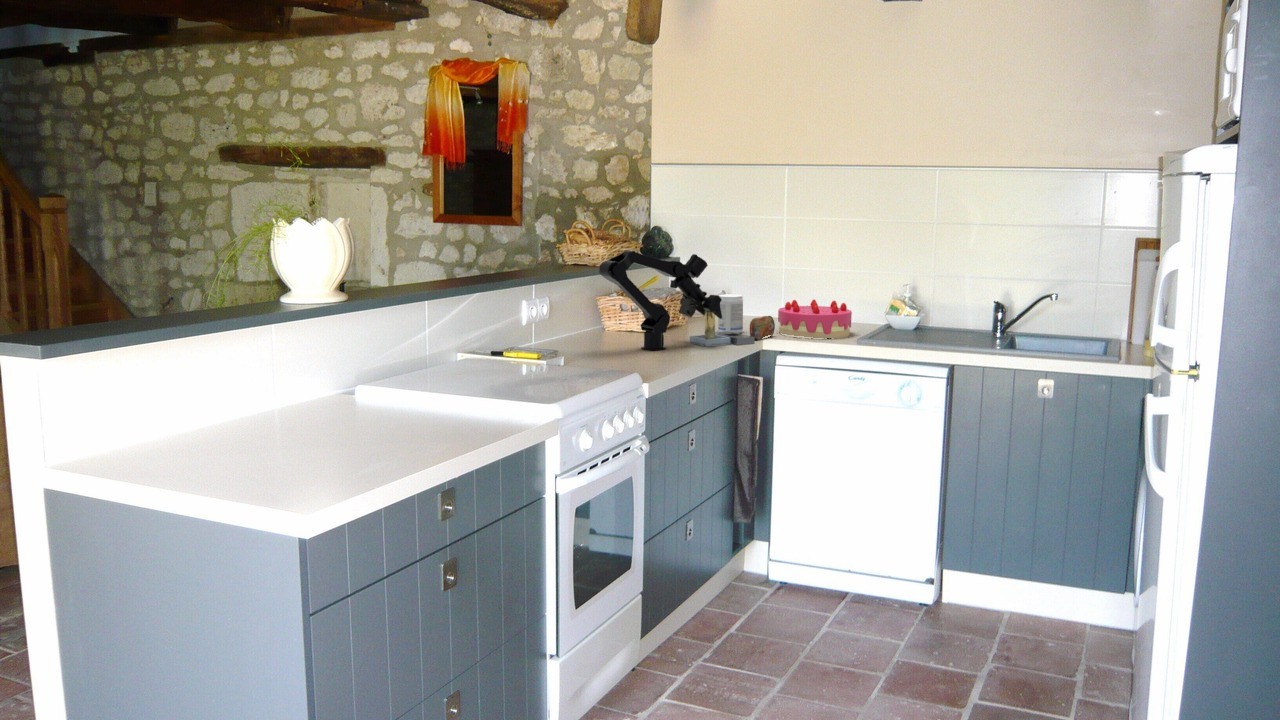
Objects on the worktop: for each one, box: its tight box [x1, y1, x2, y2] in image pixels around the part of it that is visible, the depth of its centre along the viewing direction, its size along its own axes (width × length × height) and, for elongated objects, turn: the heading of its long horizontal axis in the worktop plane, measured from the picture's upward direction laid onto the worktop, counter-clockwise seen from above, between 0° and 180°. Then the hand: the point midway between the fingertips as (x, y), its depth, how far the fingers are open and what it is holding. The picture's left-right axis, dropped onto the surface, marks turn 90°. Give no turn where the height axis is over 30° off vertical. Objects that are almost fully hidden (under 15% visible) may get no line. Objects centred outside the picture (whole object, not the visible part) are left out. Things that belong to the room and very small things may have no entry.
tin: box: [749, 315, 776, 341], centre depth 377 cm, size 15×3×8 cm, turn 143°
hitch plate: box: [715, 331, 756, 346], centre depth 369 cm, size 8×16×2 cm, turn 32°
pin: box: [704, 296, 716, 339], centre depth 363 cm, size 5×5×16 cm
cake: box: [777, 299, 853, 339], centre depth 388 cm, size 28×28×12 cm
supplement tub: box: [717, 293, 744, 334], centre depth 391 cm, size 10×10×15 cm
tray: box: [689, 334, 731, 348], centre depth 364 cm, size 11×11×2 cm
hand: (713, 316), depth 363 cm, fingers open, 9 cm apart
